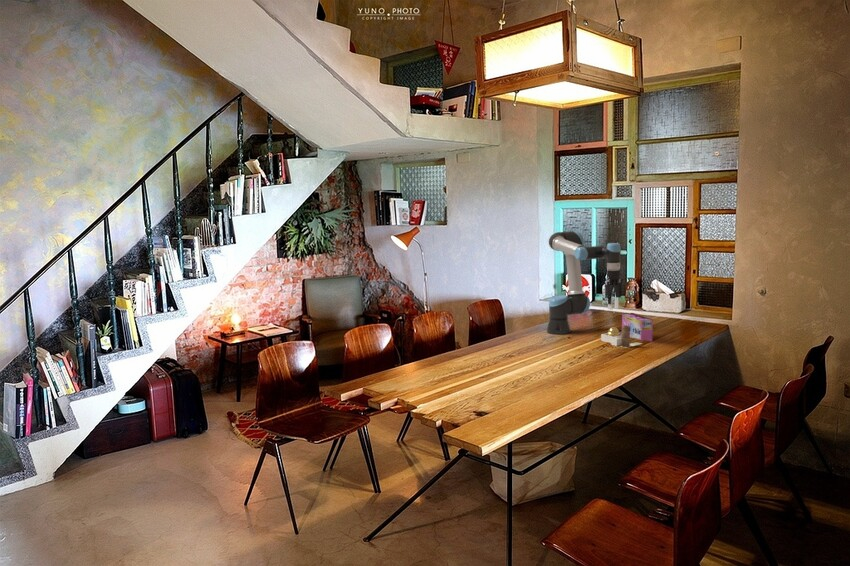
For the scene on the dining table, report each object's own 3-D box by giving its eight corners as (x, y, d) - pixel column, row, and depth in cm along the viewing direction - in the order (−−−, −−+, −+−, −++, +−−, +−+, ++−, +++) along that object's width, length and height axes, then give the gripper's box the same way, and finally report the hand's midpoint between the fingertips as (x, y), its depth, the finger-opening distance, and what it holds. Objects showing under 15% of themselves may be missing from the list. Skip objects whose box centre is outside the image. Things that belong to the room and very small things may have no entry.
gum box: (620, 334, 409) (620, 313, 407) (631, 333, 410) (631, 312, 408) (641, 342, 386) (641, 320, 384) (653, 341, 387) (653, 319, 385)
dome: (604, 336, 387) (604, 327, 386) (612, 335, 391) (612, 325, 390) (614, 338, 381) (614, 328, 380) (622, 337, 385) (622, 327, 384)
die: (611, 344, 377) (611, 338, 377) (615, 343, 380) (615, 337, 379) (616, 346, 374) (616, 339, 373) (621, 345, 376) (621, 338, 376)
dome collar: (601, 341, 388) (601, 334, 387) (612, 338, 393) (612, 331, 393) (614, 343, 380) (614, 337, 379) (625, 341, 385) (625, 334, 384)
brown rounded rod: (619, 346, 373) (620, 325, 371) (625, 345, 375) (625, 324, 374) (626, 347, 369) (626, 326, 368) (631, 346, 372) (631, 325, 370)
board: (596, 343, 387) (596, 341, 386) (614, 339, 395) (614, 337, 395) (626, 350, 368) (626, 348, 368) (644, 345, 377) (644, 343, 377)
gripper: (608, 271, 373) (608, 311, 376) (629, 268, 382) (628, 307, 386) (598, 270, 379) (598, 310, 382) (618, 267, 389) (618, 306, 392)
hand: (613, 308), depth 384 cm, fingers open, 5 cm apart
